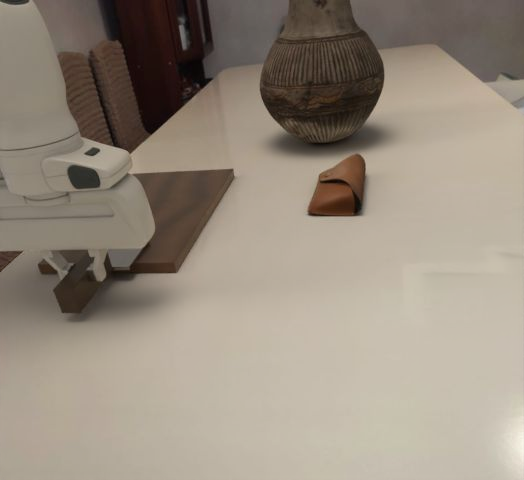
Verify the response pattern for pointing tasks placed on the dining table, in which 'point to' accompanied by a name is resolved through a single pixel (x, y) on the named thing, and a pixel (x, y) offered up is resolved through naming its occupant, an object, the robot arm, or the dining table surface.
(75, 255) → the board
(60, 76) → the robot arm
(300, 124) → the vase
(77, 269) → the spatula
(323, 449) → the dining table surface
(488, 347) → the dining table surface
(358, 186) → the sunglasses case
